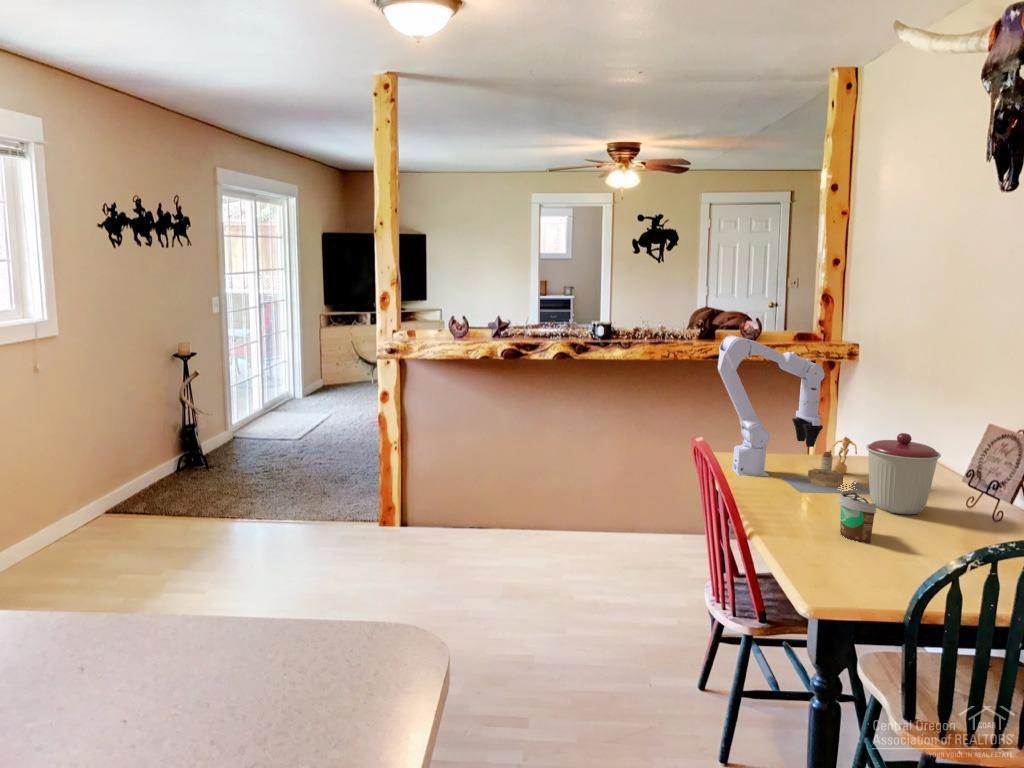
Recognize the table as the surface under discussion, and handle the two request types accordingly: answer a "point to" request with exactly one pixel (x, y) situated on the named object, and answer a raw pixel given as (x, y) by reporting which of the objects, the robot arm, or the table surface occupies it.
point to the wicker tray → (825, 478)
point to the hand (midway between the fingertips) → (805, 443)
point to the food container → (856, 516)
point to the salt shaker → (826, 463)
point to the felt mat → (819, 486)
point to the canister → (901, 474)
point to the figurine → (841, 465)
